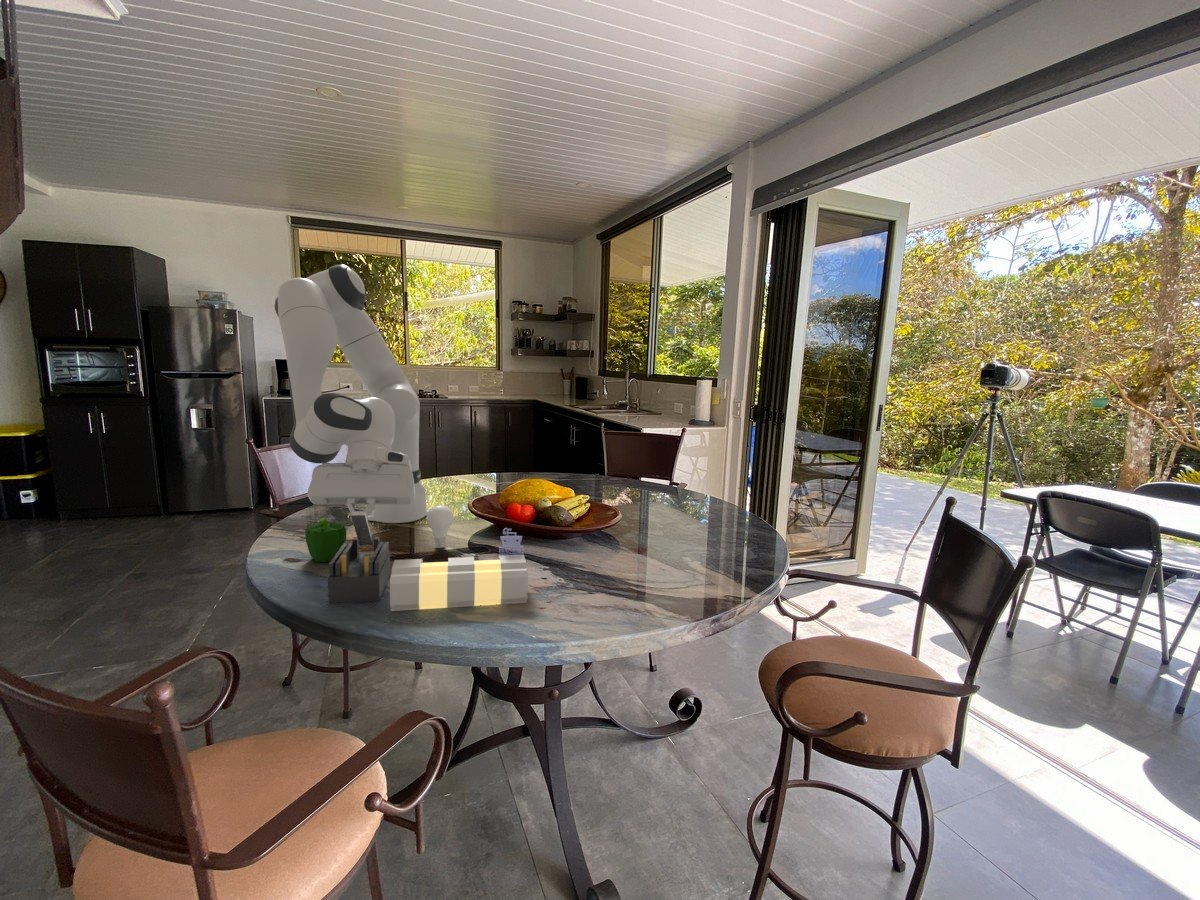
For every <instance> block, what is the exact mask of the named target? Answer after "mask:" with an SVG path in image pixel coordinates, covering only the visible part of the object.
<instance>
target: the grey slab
mask: <svg viewBox="0 0 1200 900" xmlns="http://www.w3.org/2000/svg"><path fill="white" fill-rule="evenodd" d="M350 516H351V518H352V521H353V522H352V523H353V527H354V530H355V533H356V537H357V538H358V541H359V546H374V538H373V536H372V533H371V529H370V528H371V527H370V525H369V520H367V516H366V512H350Z"/></svg>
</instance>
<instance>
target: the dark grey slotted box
mask: <svg viewBox="0 0 1200 900" xmlns="http://www.w3.org/2000/svg"><path fill="white" fill-rule="evenodd" d="M380 539H381V537H380V536H374V537H373V552H360V545H359V541H358V538H357V536H354V537H353V538H352V541H351V542H345V543H344V544H343V545H342V547H341V548H340V549H339V551H338V552H337V553H336V555H335V556H334V557H333V559H332V560H331V561H329V562H328V576H327V603H328V602H336V603H351V602H352V603H354V602H355V601H357V602H372V601H373V602H375V601H380V600H381V598H382V596H383V593H384V590H385V588H386V585H387V583H388V582H389V581H388V580H389V579H390V577H391V552H390V545H389V544H390V543H389V542H390V541H385V542H384V541H381V540H380Z"/></svg>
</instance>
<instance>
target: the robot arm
mask: <svg viewBox="0 0 1200 900" xmlns="http://www.w3.org/2000/svg"><path fill="white" fill-rule="evenodd" d="M366 298H367V290H366V287H365V285H364V281H363V279H361V277H360V276H359V274H358V273H357V272H356V271H355V270H354V269H353V268H352V267H350V266H349V265H346V264H343V263H342V264H335V265H332V266H330V267H329V268H328V269H325V270H322V271H319V272H316V273H314V274H312V275H309V276H308V277H306V278H305V277H304V278H303V277H294V278H290V279H287V280H285V281H284V282H283V283H282V284H281V285H280V287H279V288H278V292H277V297H276V298H275V301H274V310H275V313H276V315H277V317H278V319H279V324H280V328H281V334H282V338H283V343H284V349H285V350H284V351H285V354H286V355H285V357H286V365H287V366H286V367H287V374H288V384H289V393H290V401H291V408H292V415H293V426H292V429H291V431H290V434H289V441H288V442H289V446H290V449H291V450H292V451H293V453H294V454H295V455H297V457H299V458H300V459H302V460H304V461H306V462H309V463H312V464H319V465H316V466H315V467H314V468H313V470H312V474H311V479H310V483H309V485H308V489H307V493H306V494H307V497H308V499H309V500H310V502H311V503H312V504H313V505H347V508H348V510H349V511H350V513H351V512H366V516H367V520H368V522H371V521H372V522H378V523H387V524H397V523H398V524H400V523H402V524H404V523H410V522H415V521H418V520H422V519H423V518H425V517H427V513H428V511H429V510H430V509H431V508H428V507H427V495H426V492H427V491H426V487H425V486H424V485H422V483H421V475H422V473H421V469H420V468H419V467H420V466H419V463H420V462H419V458H420V456H419V454H420V452H419V449H420V448H419V447H420V446H419V444H420V443H419V442H420V418H421V417H420V413H421V411H420V410H421V409H420V406H421V405H420V403H421V402H420V399H419V397H418V394H417V393H416V392H415V390H414V388H413V387H412V385H411V383H410V382H409V380H408V379H407V377H406V375H405V373H404V371H403V369H402V368H401V366H400V365H399V363H398V361H397V360H396V358H395V356H394V354H393V353H392V351H391V349H390V348H389V346H388V344H387V342H386V340H385V339H384V338H383V335H382V334H381V332H380V331H379V329H378V328H377V325H376V324H375V323H374V321H373V319H371V317H370V316H369V314H368V313H367V312H366V311H365V310H364V308H365V305H364V303H365V302H366ZM337 346H338V347H339V348H340V350H341V352H342V353H343V355H344V357H345V358H346V360H347V362H348V363H349V364H350V366H351V368H352V369H353V371H354V373H355V375H356V376H357V378H359V380H360V382H361V383H362V385H364V388H365V389H366V390H367V392H368V393H369V395H370V397H365V398H351V397H350V396H346V395H344V394H340V393H335V392H327V393H324V394H323V392H322V386H323V379H324V376H325V374H326V371H327V368H328V366H329V364H330V362H331V360H332V357H334V354H335V351H336V350H337ZM345 445H346V447H347V452H346V456H345V462H332V461H333V460H335V458H336V457H337V456H338V454H339V452H340V451H341V449H342V447H343V446H345ZM330 462H331V463H330ZM357 505H366V507H365V508H364V510H355V509H356V508H357ZM349 517H350V519H349V520H350V522H351V523H353V521H352V518H351V515H350V516H349Z"/></svg>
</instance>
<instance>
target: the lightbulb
mask: <svg viewBox="0 0 1200 900" xmlns="http://www.w3.org/2000/svg"><path fill="white" fill-rule="evenodd" d="M429 509H430V510H429V511H428V513H427V516H426V522H427V525H428V526H429V528H430V530H431V532H432V535H433V537H434V538H433V539H434V543H433V544H434V547H435V548H437V549H439V550H441V549H443V548H445V547H446V544H447V543H446V539H447V535H448V531H449V529H450V528H451V527H452V524H453V522H454V512H453V510H452V509H451V507H448V506H447V505H444V504H435V505H434V506H432V507H431V508H429Z"/></svg>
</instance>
